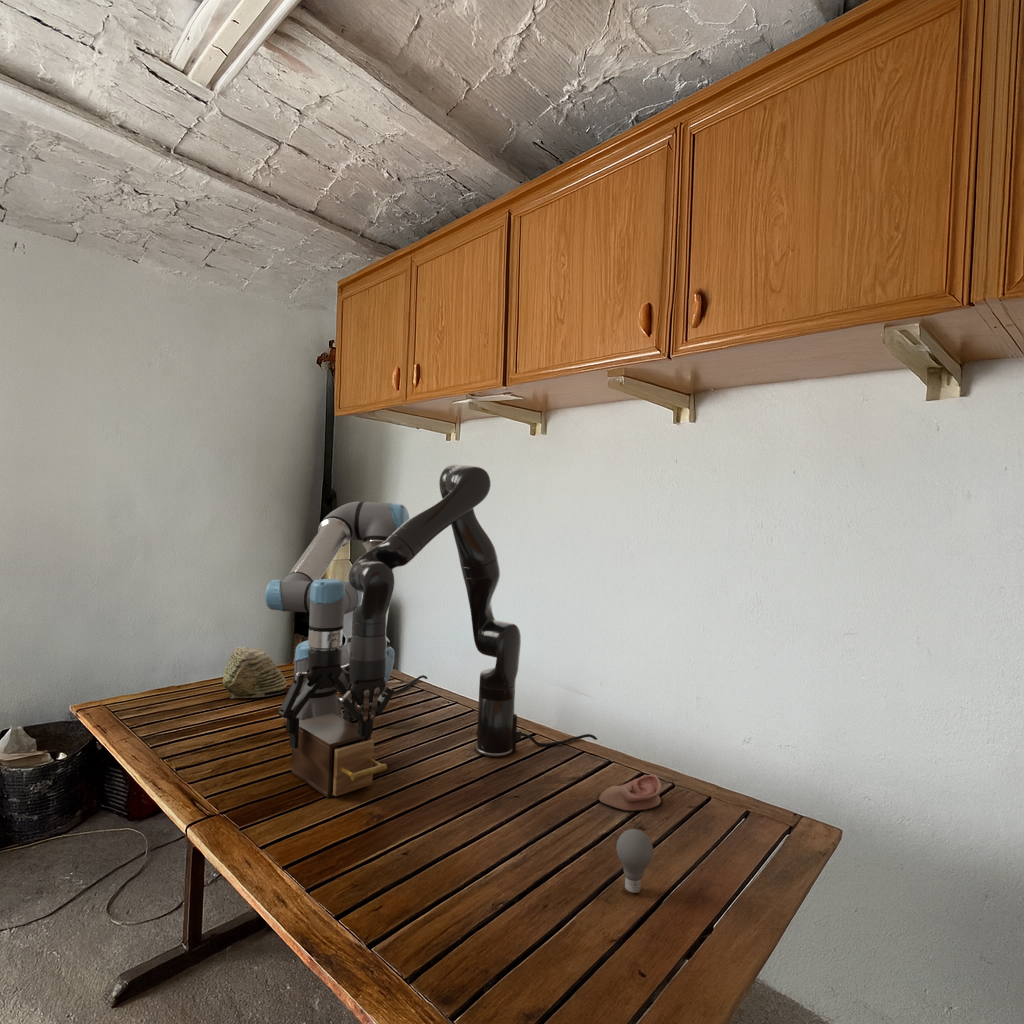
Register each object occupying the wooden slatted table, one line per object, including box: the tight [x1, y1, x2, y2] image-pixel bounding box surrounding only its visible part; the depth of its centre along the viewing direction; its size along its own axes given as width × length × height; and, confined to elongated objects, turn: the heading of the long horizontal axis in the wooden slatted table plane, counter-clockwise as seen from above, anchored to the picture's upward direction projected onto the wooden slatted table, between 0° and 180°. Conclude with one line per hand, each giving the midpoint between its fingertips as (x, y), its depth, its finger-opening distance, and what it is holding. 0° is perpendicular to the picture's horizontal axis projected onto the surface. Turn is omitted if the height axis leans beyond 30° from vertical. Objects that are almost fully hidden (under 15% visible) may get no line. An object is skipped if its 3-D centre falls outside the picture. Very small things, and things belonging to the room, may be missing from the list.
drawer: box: [331, 739, 388, 797], centre depth 139 cm, size 21×9×10 cm, turn 45°
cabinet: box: [290, 713, 372, 799], centre depth 143 cm, size 17×10×11 cm, turn 45°
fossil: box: [222, 646, 288, 699], centre depth 198 cm, size 9×18×15 cm, turn 132°
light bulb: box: [615, 828, 654, 894], centre depth 106 cm, size 6×6×10 cm
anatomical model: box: [598, 774, 663, 812], centre depth 139 cm, size 13×4×12 cm
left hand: (321, 739), depth 145 cm, fingers open, 13 cm apart
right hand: (365, 736), depth 133 cm, fingers closed
